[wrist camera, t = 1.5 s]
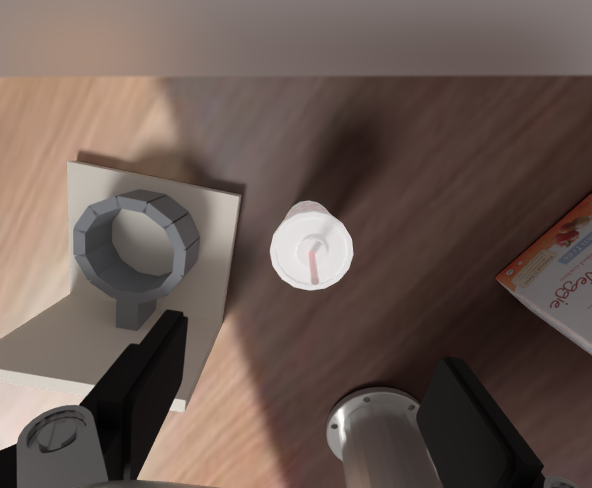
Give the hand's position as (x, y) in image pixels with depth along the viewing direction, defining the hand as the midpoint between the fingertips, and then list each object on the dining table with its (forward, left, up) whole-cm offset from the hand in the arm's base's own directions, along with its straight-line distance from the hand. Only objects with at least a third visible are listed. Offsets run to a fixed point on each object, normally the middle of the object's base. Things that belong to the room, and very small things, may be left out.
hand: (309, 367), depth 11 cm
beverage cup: (-1, 0, -21) cm, 21 cm away
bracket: (+14, +6, -21) cm, 26 cm away
